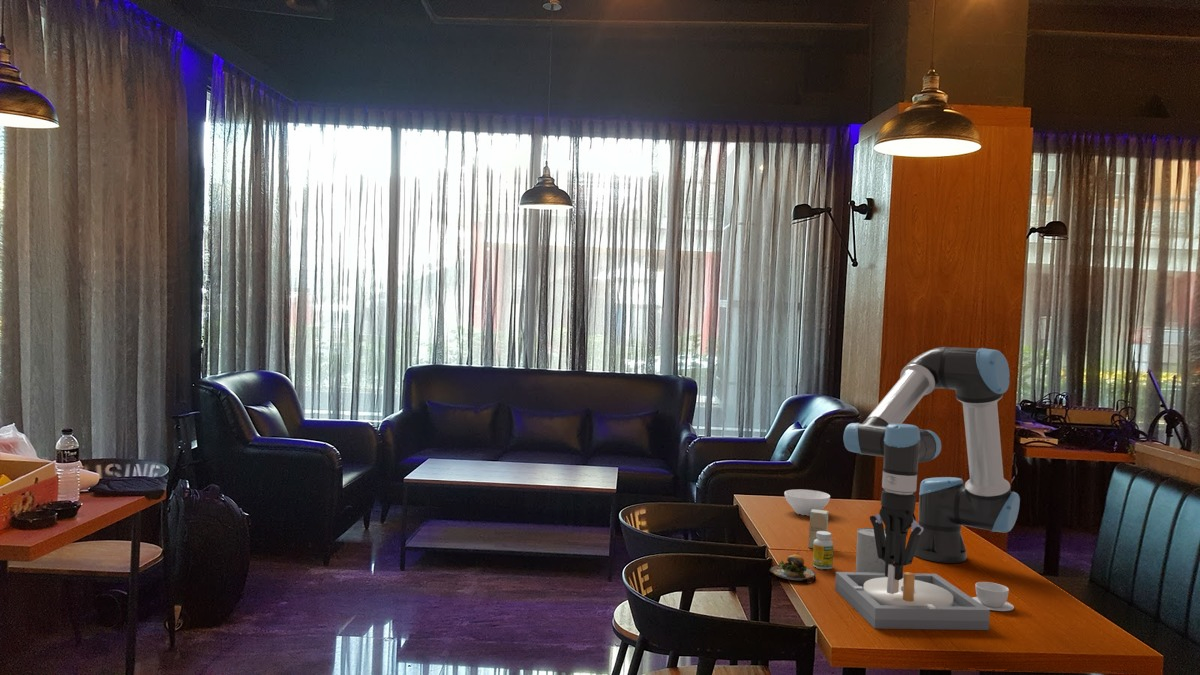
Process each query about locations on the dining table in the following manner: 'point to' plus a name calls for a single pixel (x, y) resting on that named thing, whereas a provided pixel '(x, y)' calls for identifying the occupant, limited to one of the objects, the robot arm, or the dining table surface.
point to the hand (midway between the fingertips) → (892, 592)
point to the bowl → (806, 500)
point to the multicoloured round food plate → (793, 569)
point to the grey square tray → (954, 617)
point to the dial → (908, 592)
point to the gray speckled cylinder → (868, 552)
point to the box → (817, 524)
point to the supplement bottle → (823, 550)
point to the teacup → (993, 596)
